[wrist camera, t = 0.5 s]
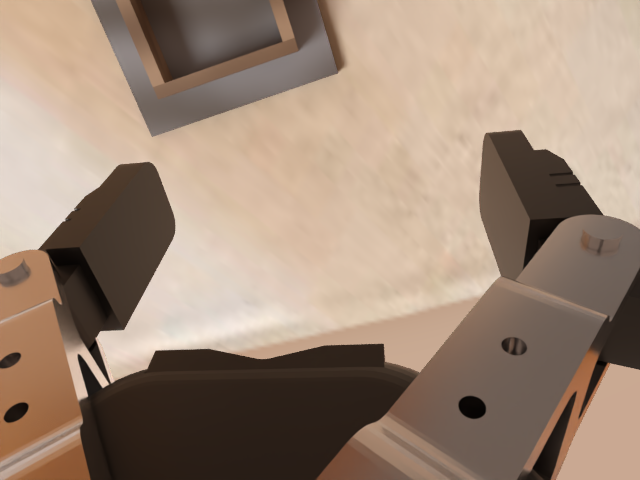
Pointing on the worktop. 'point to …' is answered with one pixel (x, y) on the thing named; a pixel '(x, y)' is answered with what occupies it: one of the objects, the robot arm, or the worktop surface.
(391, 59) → the worktop surface
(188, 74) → the walnut can holder
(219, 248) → the worktop surface
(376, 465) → the robot arm
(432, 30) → the worktop surface
